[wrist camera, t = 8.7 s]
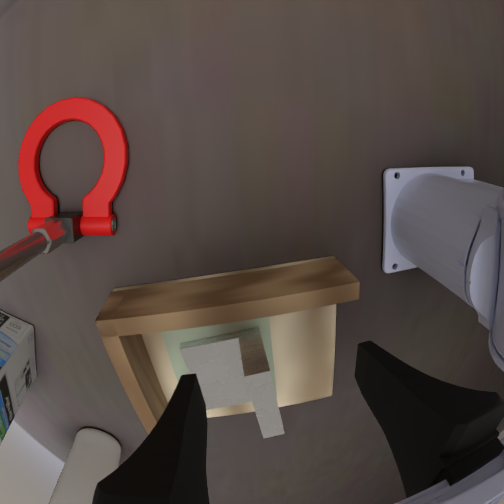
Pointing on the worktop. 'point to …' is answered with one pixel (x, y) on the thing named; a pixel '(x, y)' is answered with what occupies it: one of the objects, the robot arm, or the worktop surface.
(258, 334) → the bracket
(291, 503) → the worktop surface
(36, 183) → the tow hook
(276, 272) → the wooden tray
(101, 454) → the drinking glass
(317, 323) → the board
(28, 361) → the light bulb box
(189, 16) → the worktop surface
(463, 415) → the robot arm
